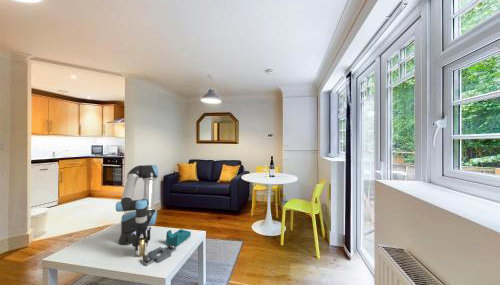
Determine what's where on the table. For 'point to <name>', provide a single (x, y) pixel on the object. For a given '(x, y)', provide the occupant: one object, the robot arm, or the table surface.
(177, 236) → the teal notched block
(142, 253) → the pin
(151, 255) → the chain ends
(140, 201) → the robot arm
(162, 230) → the table surface
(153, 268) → the table surface
